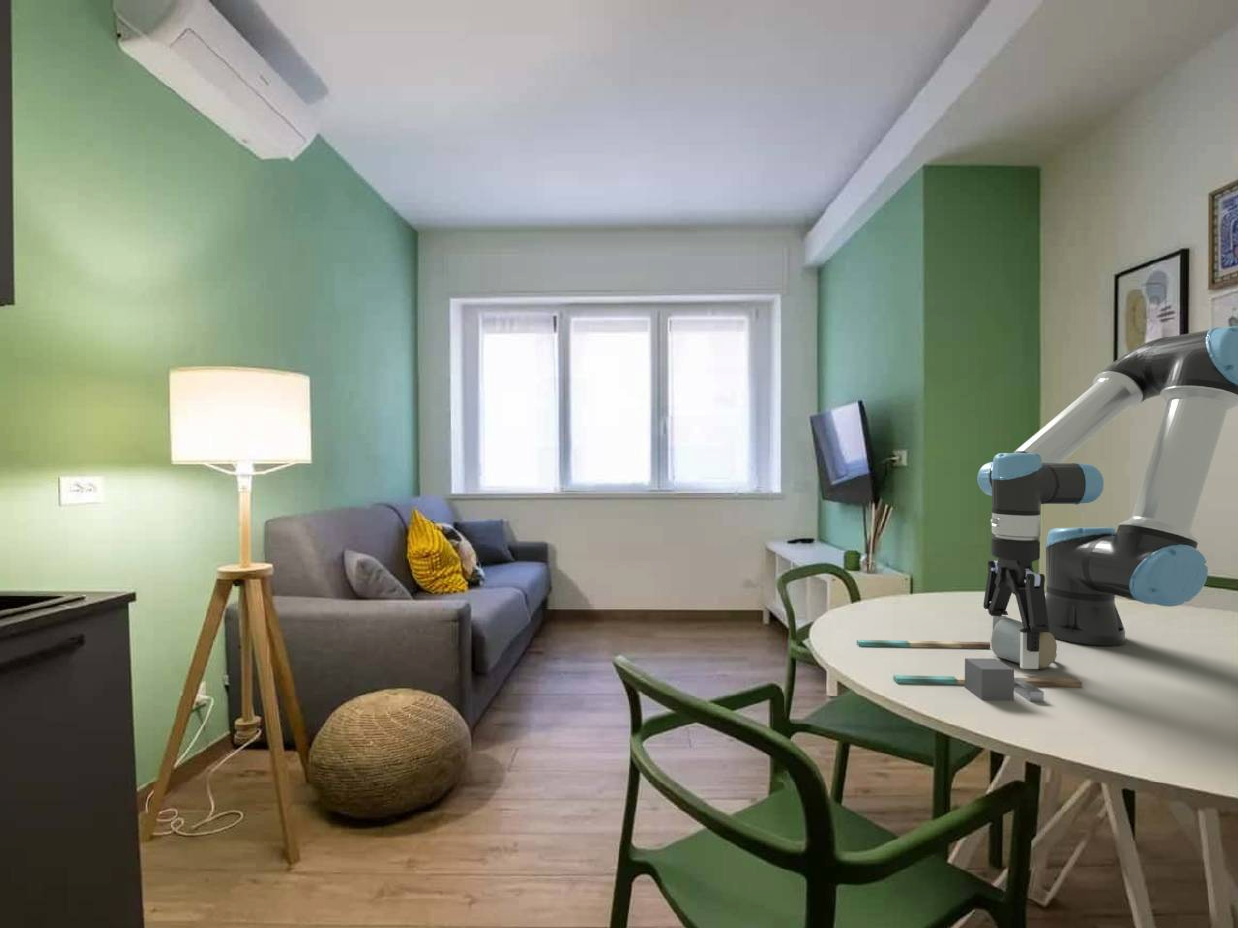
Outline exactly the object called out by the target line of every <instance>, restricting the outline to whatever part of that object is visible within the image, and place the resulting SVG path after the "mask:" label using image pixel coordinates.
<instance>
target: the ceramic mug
mask: <svg viewBox="0 0 1238 928" xmlns="http://www.w3.org/2000/svg"><path fill="white" fill-rule="evenodd" d="M1023 628H1024V627H1023V623H1022V621H1020V620H1016V619H1013V618H1011V617H1008V618H1003V619H1001V620H1000V621H999V622H998V623H997V624H996V625H995V627H994V629H993V632H992V638H991V646H992V650H993V651H992V650H991V651H992V652H993V654H994V656H996V657H998V658H1000V659H1004V660H1006V661H1010V662H1012V663H1013V662H1014V663H1016V664H1019V665H1020V633H1021V632H1020V629H1023ZM1057 649H1058V647H1057V641H1056V638H1054V636H1053V635H1052V634H1051V633H1049V632H1042V633H1040V635H1039V666H1038V669H1037V670H1043V669H1046V668H1048V667H1050V666H1051V664H1052V663H1054V662H1055V661H1056V659H1057V655H1058V654H1057Z"/></svg>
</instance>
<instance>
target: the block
mask: <svg viewBox="0 0 1238 928" xmlns="http://www.w3.org/2000/svg"><path fill="white" fill-rule="evenodd" d="M964 677H965V685H964V688H965V689H966V690H967V691H969V692H970V693H971V694H973V695H974V696H975V697H977V698H978V699H979V700H981V701H1014V700H1015V691H1014V678H1015V668H1012V666H1009V665H1007V664H1006V663H1004V662H1003V661H1000V659H999V660H998V659H997V658H977V657H976V658H971V657H970V658H967V657H966V658H964Z"/></svg>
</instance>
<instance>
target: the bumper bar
mask: <svg viewBox="0 0 1238 928" xmlns="http://www.w3.org/2000/svg"><path fill="white" fill-rule="evenodd" d="M1022 678H1023V677H1014V692H1016V693H1017V694H1019V695H1020V696H1022V697H1023V698H1024V699H1026V700H1028V701H1029V702H1035V703H1036V702H1040V703H1044V699H1045V698H1044V697H1045V696H1044V695H1045V694H1044V693H1045V692H1044V691H1043V690H1041V689H1040V688H1038V687H1037V686H1033V685H1032V684H1030V683H1028V682H1027V681H1025V680H1024V679H1022Z"/></svg>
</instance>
